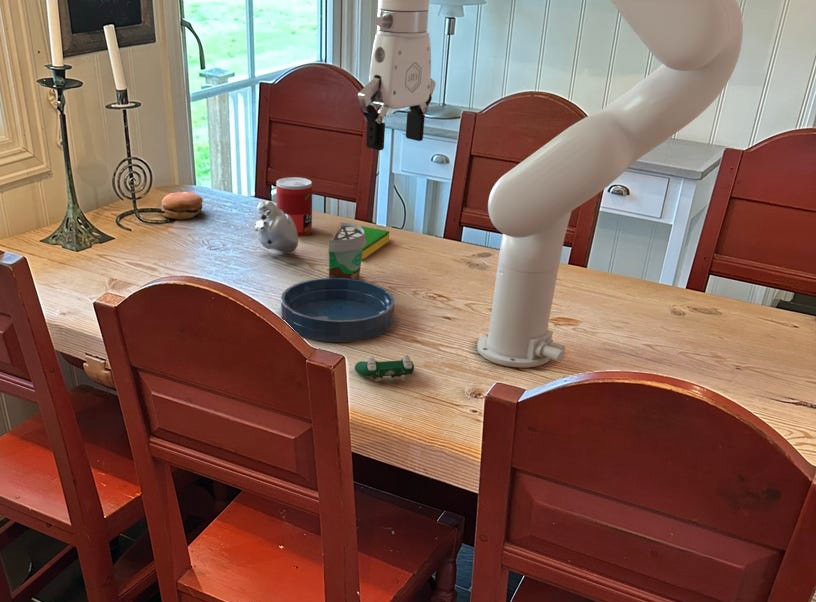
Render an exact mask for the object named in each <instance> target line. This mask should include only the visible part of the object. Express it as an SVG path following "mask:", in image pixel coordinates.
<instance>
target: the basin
mask: <svg viewBox="0 0 816 602" xmlns="http://www.w3.org/2000/svg"><path fill="white" fill-rule="evenodd" d="M395 300H396V299H395V297H394V295H393V294H392V293H391V292H390V291H389V290H388V289H386V288H384V287H383V286H380V285H378V284H376V283H373V282H370V281H366V280H361V279H359V280H356V279H348V278H329V277H322V278H321V277H320V278H315V279H308V280H304V281H301V282H297V283H295V284H293V285H291V286H288V287H287V288H286V289H285V290H284V291H283V292H282V293H281V296H280V318H282V319H283V320H285V321H286V322H287V323H288V324H289V325H290V326H291V327H292V328H293V329H294V330H295V331H296V332H297V333H299V334H300V335H299V334H298V335H299V336H301V337H304V338H309V339H310V340H311V339H312V340H317V341H323V342H334V343H344V342H345V343H346V342H357V341H358V342H359V341H364V340H368V339H372V338H375V337H379V336H380V335H383V334H384V333H386V332H387V331H389V330H390V329H391V327H392V326H393V324H394V319H395V318H394V316H395V302H396V301H395ZM282 319H281V320H282ZM297 333H296V334H297Z"/></svg>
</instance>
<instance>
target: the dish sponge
mask: <svg viewBox="0 0 816 602" xmlns="http://www.w3.org/2000/svg"><path fill="white" fill-rule="evenodd" d="M360 227H361V228H362V229H363V230H364V233H365V236H366V241H367V243H366V245H365V246H364V247H363V250H362V259H361V260H364V259H365V258H367V257H368V256H370V255H371V254H373V253H374V252H376V251H377V250H379V249H380V248H381V247H383V246H384V245H386V244H388V243H389V241H390V230H384V229H379V228H374V227H368V226H364V225H361V226H360Z"/></svg>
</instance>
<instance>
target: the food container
mask: <svg viewBox="0 0 816 602" xmlns="http://www.w3.org/2000/svg"><path fill="white" fill-rule="evenodd" d="M366 243H367V241H366V236H365V233H364V230H363V229H362V228H361V226H359V225H357V224H353V223H350V222H346V221H345V222H344V221H340V228H339V230H338V231H337V232H336V233H335V235H334V237H333V239H329V240H328V278H348V279H356V280H360V274H361V267H362V260H363V259H362V250H363V247H364V246H365V245H366Z"/></svg>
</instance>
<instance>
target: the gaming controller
mask: <svg viewBox="0 0 816 602" xmlns="http://www.w3.org/2000/svg"><path fill="white" fill-rule="evenodd" d="M354 370H355V372H356V373H357V374H358V375H359V376H361V377H364V378H369V379H372V378H373V380H374V381H375V382H381V381H382V380H383V378H384V377H391V379H392V380H393V381H399V380H400V379H401V377H402V376H408V375H412V374H413V373H414V372H415V364H414V362H413V361H412V359H411V357H410V356H409V355H403V357H402V358H401V360H386V361H377V360H376V358H375V357H373V356H371V357H369V359H368V360H367V361H365V360H364V361H363V360H362V361H357V362H356V364H355V365H354Z"/></svg>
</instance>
